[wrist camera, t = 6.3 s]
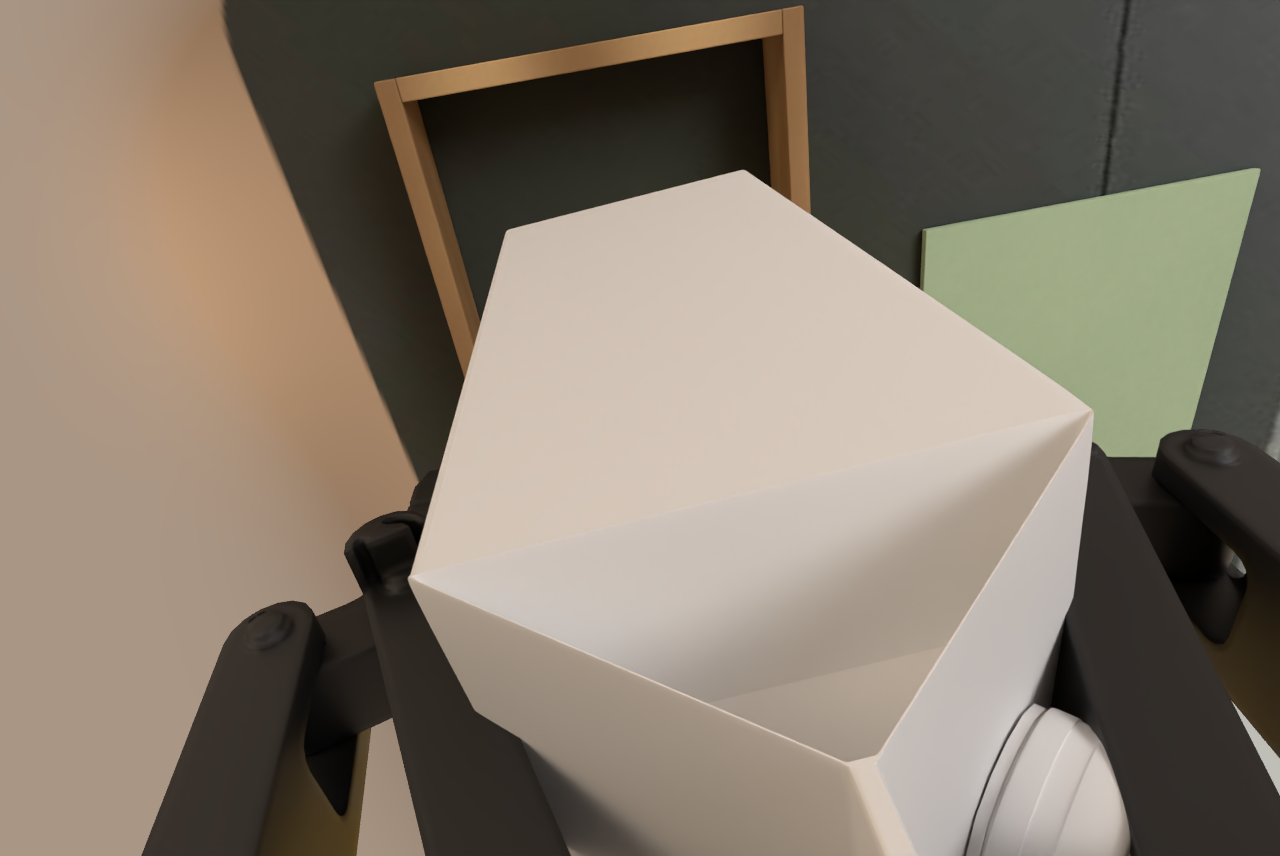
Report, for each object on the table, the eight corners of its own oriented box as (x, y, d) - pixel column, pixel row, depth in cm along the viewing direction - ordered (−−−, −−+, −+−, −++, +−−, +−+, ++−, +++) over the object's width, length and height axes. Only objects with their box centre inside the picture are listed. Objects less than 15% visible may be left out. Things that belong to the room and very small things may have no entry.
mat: (1253, 167, 33) (1261, 168, 32) (1178, 454, 40) (1183, 457, 40) (922, 229, 32) (926, 231, 32) (910, 506, 40) (913, 510, 40)
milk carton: (570, 434, 23) (599, 1372, 7) (504, 228, 20) (236, 1131, 3) (775, 383, 23) (1305, 1215, 7) (744, 166, 20) (1692, 795, 3)
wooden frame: (780, 9, 27) (803, 5, 25) (797, 366, 35) (817, 391, 32) (390, 79, 27) (372, 82, 24) (492, 423, 35) (487, 454, 32)
